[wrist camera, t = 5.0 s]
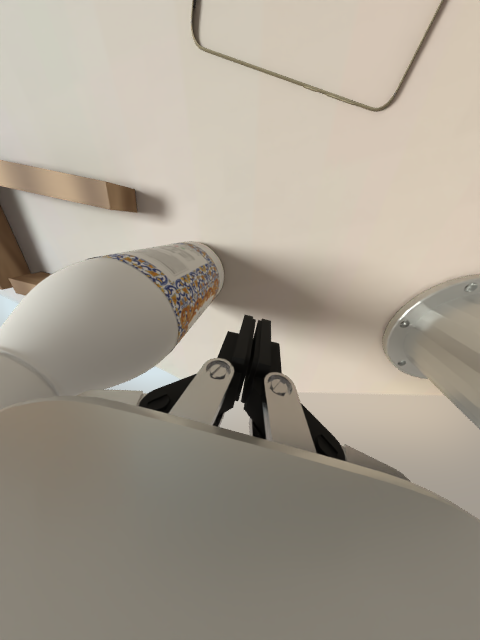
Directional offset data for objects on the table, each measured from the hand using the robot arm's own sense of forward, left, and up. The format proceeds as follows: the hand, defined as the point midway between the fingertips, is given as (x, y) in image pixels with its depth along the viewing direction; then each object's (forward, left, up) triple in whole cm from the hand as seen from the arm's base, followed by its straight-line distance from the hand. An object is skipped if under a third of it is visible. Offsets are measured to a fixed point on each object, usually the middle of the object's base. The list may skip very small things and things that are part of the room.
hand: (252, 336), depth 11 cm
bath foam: (+8, 0, -11) cm, 13 cm away
